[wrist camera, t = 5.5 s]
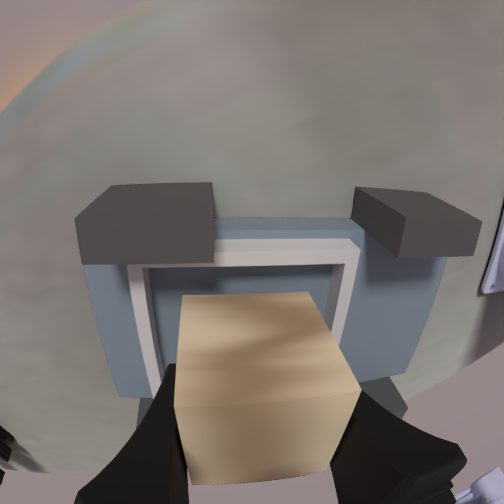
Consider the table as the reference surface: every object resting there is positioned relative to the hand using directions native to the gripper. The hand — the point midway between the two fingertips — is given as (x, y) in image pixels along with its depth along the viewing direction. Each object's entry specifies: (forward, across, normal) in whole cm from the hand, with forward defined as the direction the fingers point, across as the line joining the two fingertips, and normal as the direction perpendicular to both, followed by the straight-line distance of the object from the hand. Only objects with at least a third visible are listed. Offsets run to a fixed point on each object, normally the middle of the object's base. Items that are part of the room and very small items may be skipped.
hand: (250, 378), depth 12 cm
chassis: (+5, -2, 0) cm, 5 cm away
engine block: (+2, 0, 0) cm, 2 cm away
